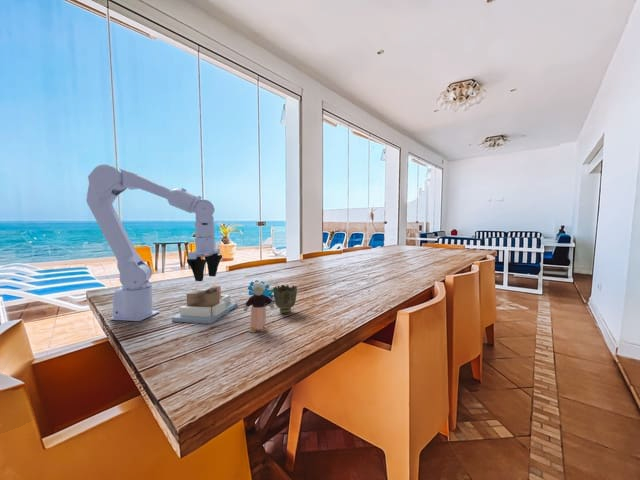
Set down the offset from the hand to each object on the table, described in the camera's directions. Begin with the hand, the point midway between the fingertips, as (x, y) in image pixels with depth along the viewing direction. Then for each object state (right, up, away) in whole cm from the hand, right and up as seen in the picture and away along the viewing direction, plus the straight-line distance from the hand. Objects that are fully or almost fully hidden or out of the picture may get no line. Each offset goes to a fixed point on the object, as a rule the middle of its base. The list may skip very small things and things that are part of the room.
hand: (206, 278), depth 85 cm
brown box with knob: (+2, -9, -7) cm, 12 cm away
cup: (+27, -10, -4) cm, 29 cm away
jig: (+2, -10, -4) cm, 11 cm away
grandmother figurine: (+22, -11, -18) cm, 30 cm away
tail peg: (+3, -9, 0) cm, 9 cm away
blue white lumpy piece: (+17, -10, +7) cm, 21 cm away
